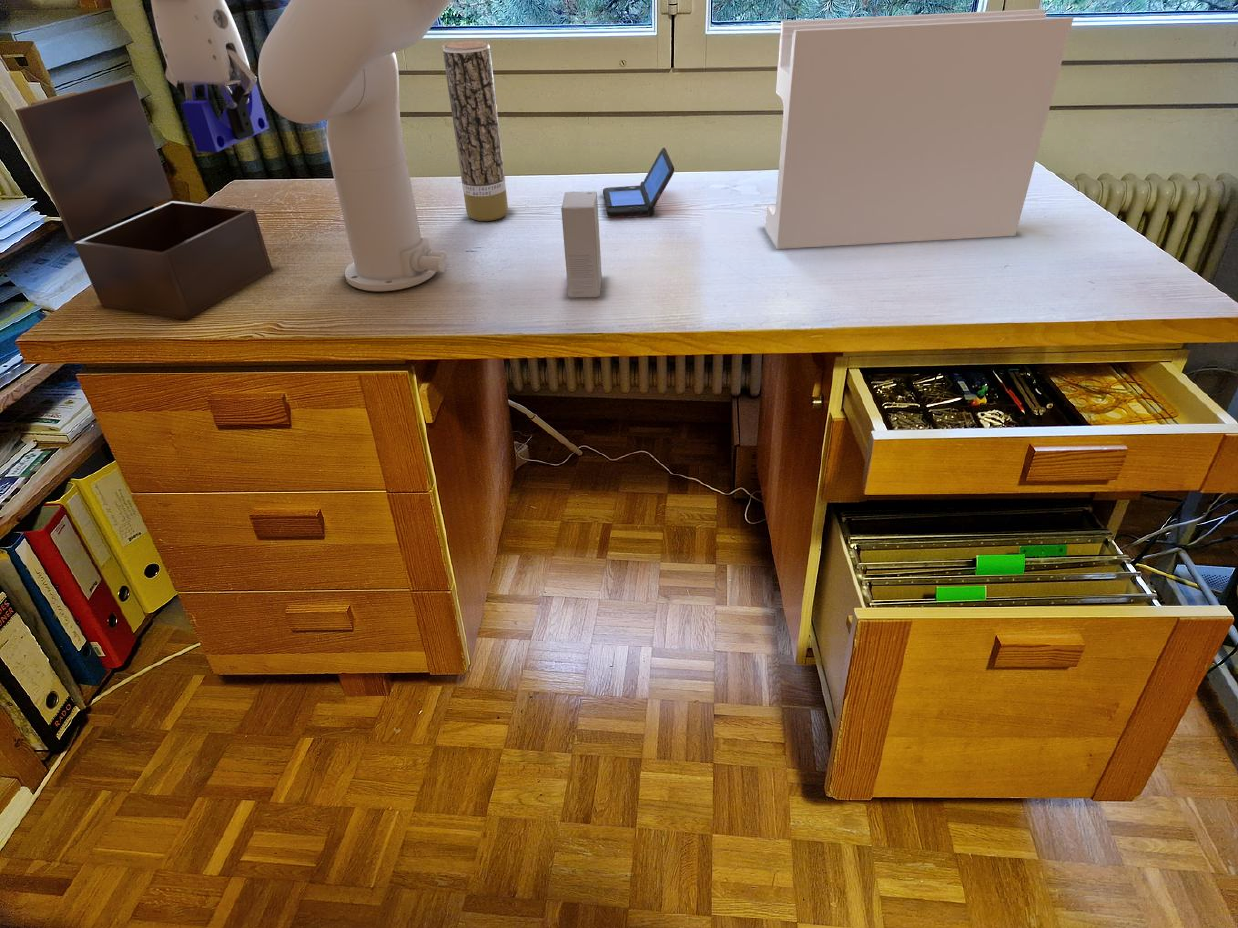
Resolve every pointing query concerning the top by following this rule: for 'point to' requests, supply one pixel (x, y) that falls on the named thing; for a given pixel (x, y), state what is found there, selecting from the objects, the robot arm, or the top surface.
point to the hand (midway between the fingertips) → (228, 134)
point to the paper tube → (476, 128)
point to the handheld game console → (640, 191)
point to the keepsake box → (175, 259)
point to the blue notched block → (220, 123)
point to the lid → (95, 155)
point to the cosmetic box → (582, 244)
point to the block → (911, 125)
